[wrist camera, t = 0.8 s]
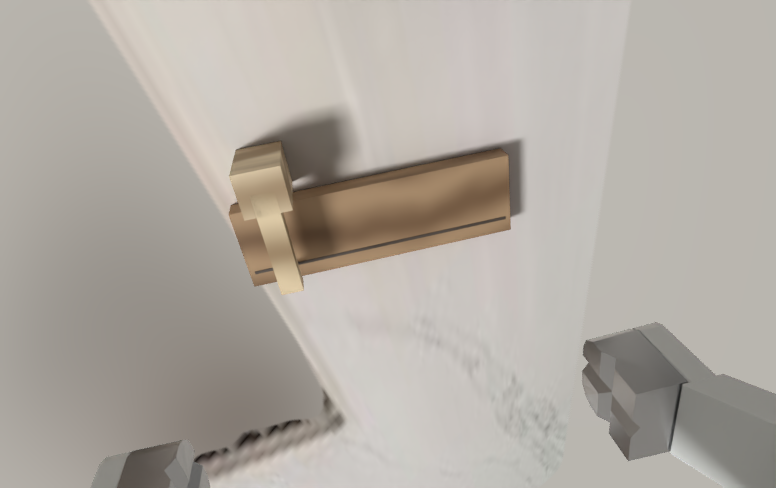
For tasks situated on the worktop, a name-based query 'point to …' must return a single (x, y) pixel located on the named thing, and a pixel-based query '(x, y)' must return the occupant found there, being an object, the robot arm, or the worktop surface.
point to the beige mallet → (268, 206)
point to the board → (386, 214)
